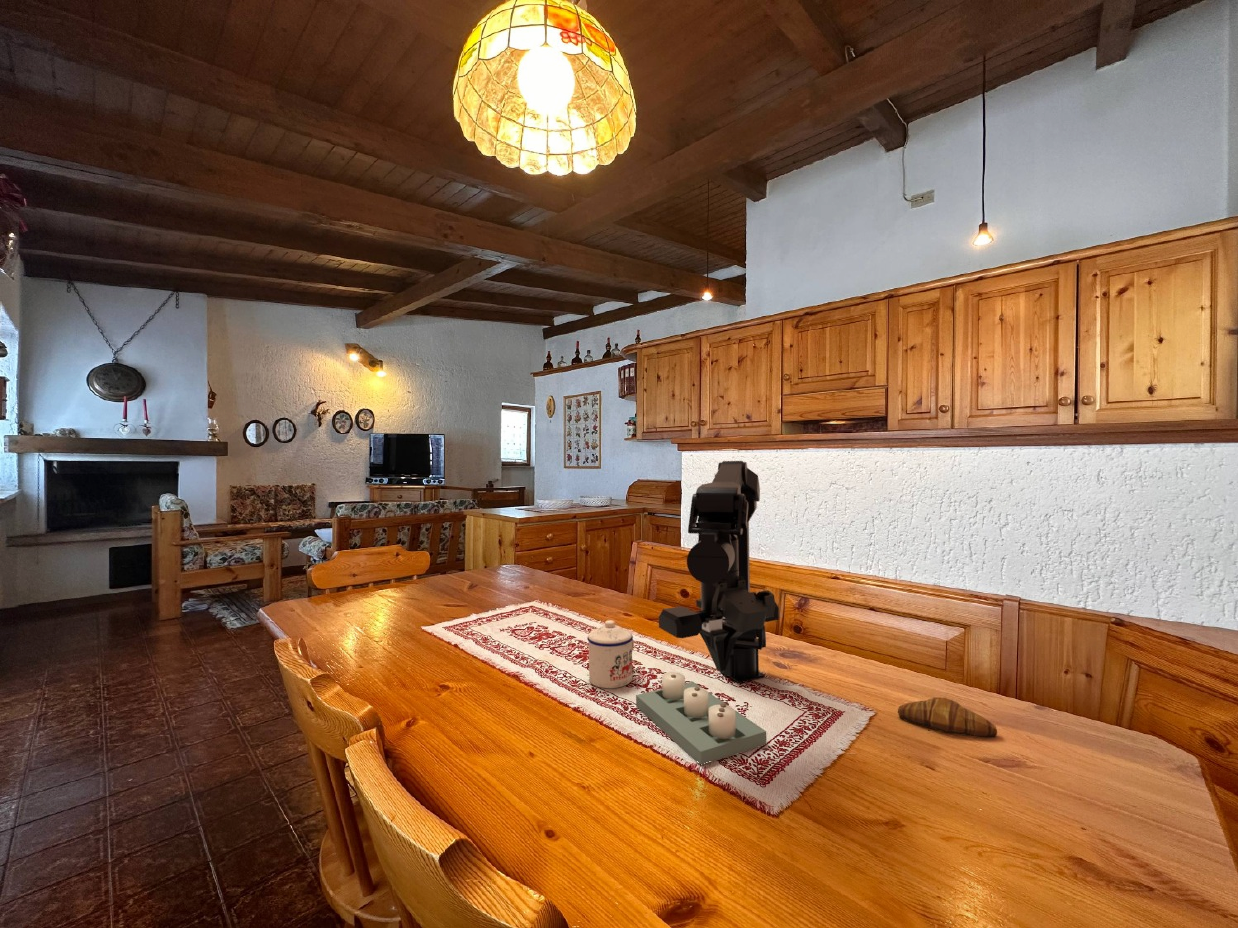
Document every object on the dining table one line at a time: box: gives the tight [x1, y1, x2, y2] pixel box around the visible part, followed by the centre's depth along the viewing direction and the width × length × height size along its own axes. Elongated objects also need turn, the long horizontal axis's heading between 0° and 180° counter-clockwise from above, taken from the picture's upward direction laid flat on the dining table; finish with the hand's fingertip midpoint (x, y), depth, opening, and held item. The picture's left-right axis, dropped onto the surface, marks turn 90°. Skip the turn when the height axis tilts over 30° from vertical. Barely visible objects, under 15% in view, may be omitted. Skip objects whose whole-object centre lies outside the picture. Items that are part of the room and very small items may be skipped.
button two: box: [684, 687, 709, 718], centre depth 85 cm, size 4×4×3 cm
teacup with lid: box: [586, 619, 635, 689], centre depth 104 cm, size 12×9×12 cm
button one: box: [661, 671, 686, 700], centre depth 91 cm, size 4×4×3 cm
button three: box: [709, 702, 736, 739], centre depth 79 cm, size 4×4×3 cm
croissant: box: [897, 696, 998, 739], centre depth 83 cm, size 14×7×5 cm, turn 60°
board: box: [635, 681, 767, 765], centre depth 85 cm, size 12×20×2 cm, turn 26°
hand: (721, 670), depth 79 cm, fingers closed
